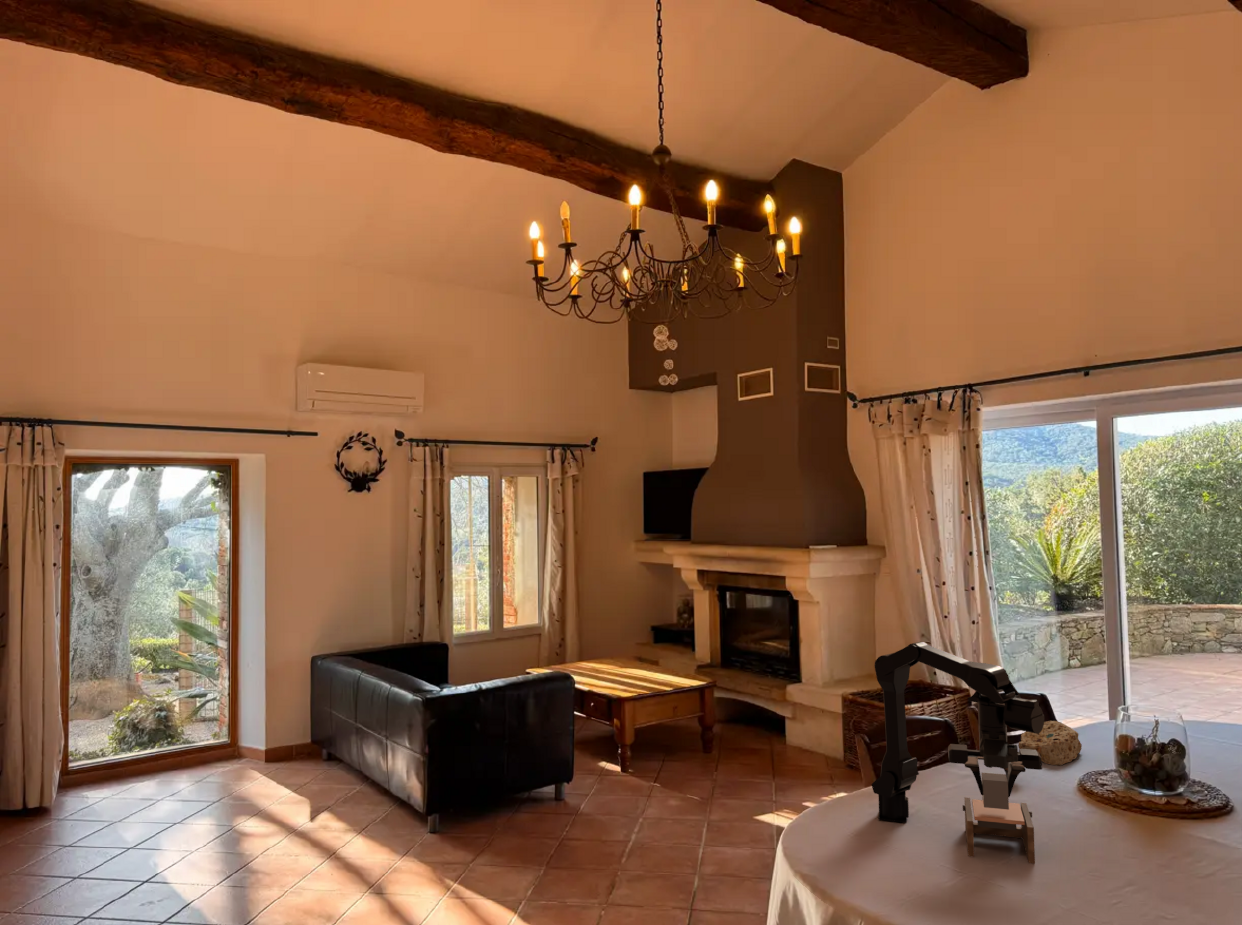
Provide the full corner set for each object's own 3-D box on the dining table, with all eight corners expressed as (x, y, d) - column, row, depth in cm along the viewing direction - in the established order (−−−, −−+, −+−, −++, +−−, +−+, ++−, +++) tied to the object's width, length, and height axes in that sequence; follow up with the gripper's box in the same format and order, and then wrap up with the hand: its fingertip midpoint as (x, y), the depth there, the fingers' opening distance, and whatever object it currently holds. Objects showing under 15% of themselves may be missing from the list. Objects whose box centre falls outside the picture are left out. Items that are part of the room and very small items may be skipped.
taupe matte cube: (982, 799, 194) (981, 772, 194) (1006, 801, 192) (1005, 774, 193) (983, 807, 189) (983, 779, 190) (1008, 809, 188) (1007, 781, 188)
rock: (1070, 772, 245) (1058, 736, 246) (1019, 773, 255) (1008, 739, 256) (1092, 748, 259) (1081, 714, 260) (1044, 749, 269) (1034, 717, 270)
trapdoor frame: (965, 855, 188) (964, 820, 189) (962, 829, 203) (961, 797, 203) (1038, 864, 184) (1036, 827, 184) (1030, 836, 198) (1029, 803, 198)
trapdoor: (975, 840, 190) (974, 816, 190) (972, 821, 200) (972, 799, 200) (1025, 845, 186) (1024, 821, 186) (1020, 826, 197) (1019, 803, 197)
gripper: (948, 731, 187) (951, 804, 186) (1044, 737, 181) (1046, 812, 180) (947, 718, 197) (949, 787, 197) (1037, 723, 191) (1039, 794, 191)
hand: (995, 795), depth 191 cm, fingers closed on taupe matte cube, 5 cm apart
